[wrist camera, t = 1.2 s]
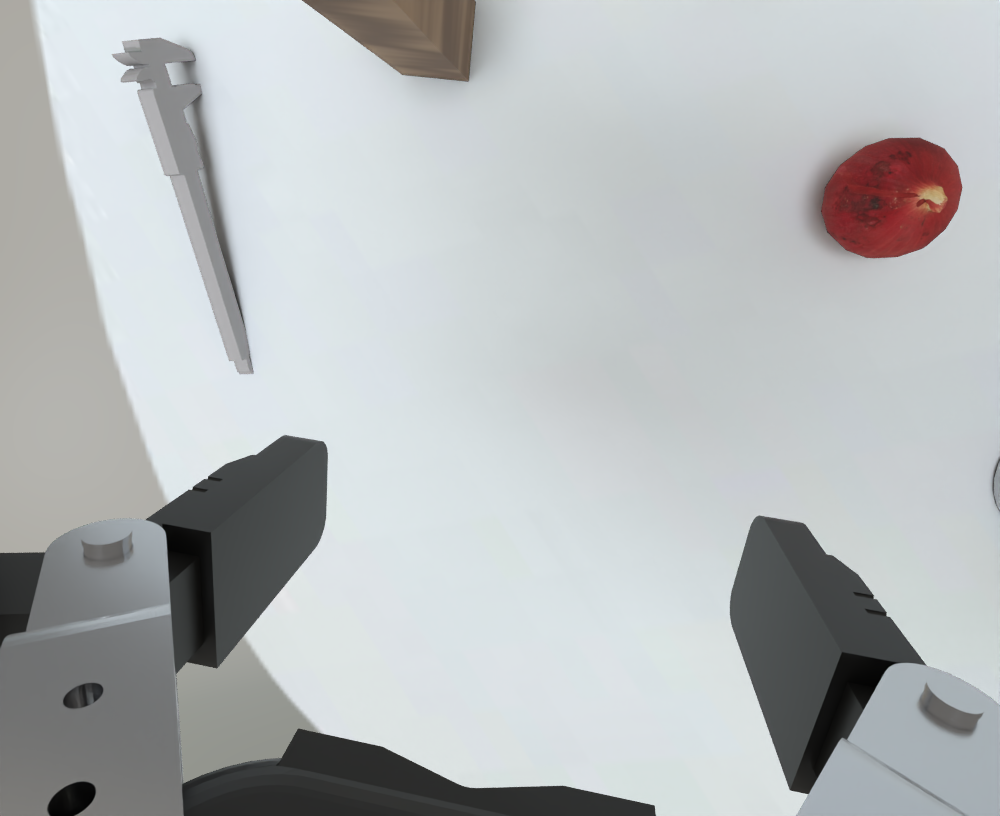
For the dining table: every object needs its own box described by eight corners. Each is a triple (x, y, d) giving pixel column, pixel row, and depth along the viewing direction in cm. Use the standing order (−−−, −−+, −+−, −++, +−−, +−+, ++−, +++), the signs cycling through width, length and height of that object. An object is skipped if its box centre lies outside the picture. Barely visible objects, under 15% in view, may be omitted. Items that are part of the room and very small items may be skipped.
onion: (796, 253, 35) (851, 264, 27) (811, 147, 33) (874, 127, 26) (903, 253, 34) (991, 264, 27) (924, 144, 32) (1024, 123, 25)
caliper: (181, 54, 37) (102, 23, 31) (197, 52, 37) (121, 21, 31) (243, 372, 43) (187, 397, 37) (256, 372, 43) (202, 397, 37)
